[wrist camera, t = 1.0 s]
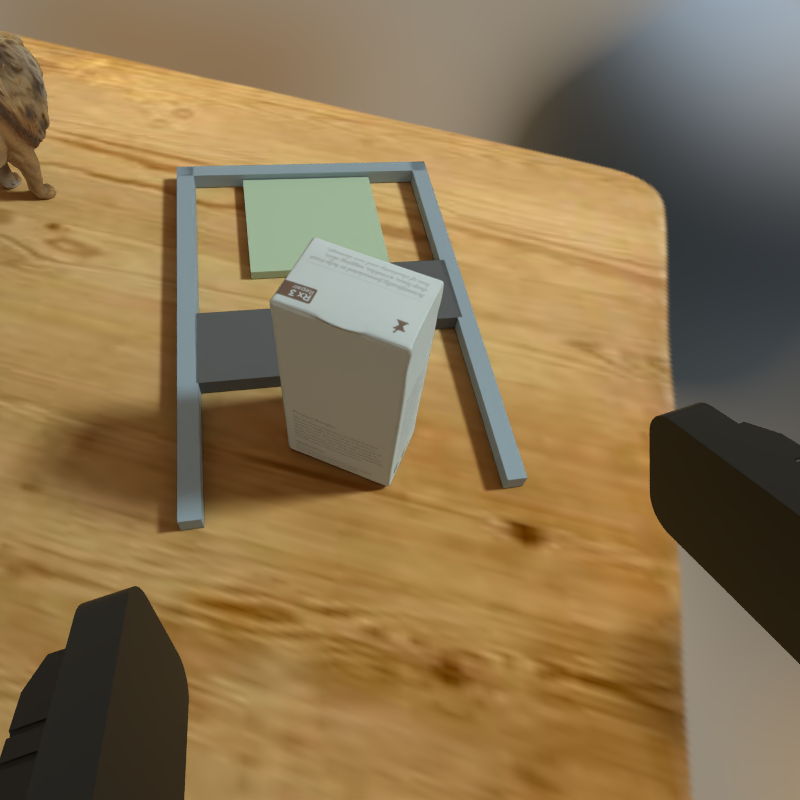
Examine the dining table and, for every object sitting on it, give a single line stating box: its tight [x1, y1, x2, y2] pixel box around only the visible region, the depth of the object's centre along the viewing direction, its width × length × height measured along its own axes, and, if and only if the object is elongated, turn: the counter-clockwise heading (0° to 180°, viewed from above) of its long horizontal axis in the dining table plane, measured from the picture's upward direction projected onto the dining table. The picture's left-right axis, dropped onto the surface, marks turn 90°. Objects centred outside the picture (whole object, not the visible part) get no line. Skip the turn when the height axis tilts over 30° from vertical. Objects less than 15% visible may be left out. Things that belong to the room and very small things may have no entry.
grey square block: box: [195, 309, 281, 393], centre depth 37 cm, size 5×5×1 cm
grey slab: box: [391, 260, 462, 329], centre depth 41 cm, size 5×5×1 cm
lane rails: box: [177, 162, 527, 530], centre depth 39 cm, size 27×18×1 cm
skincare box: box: [270, 237, 444, 486], centre depth 30 cm, size 6×4×12 cm
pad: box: [243, 177, 390, 279], centre depth 43 cm, size 9×9×1 cm
